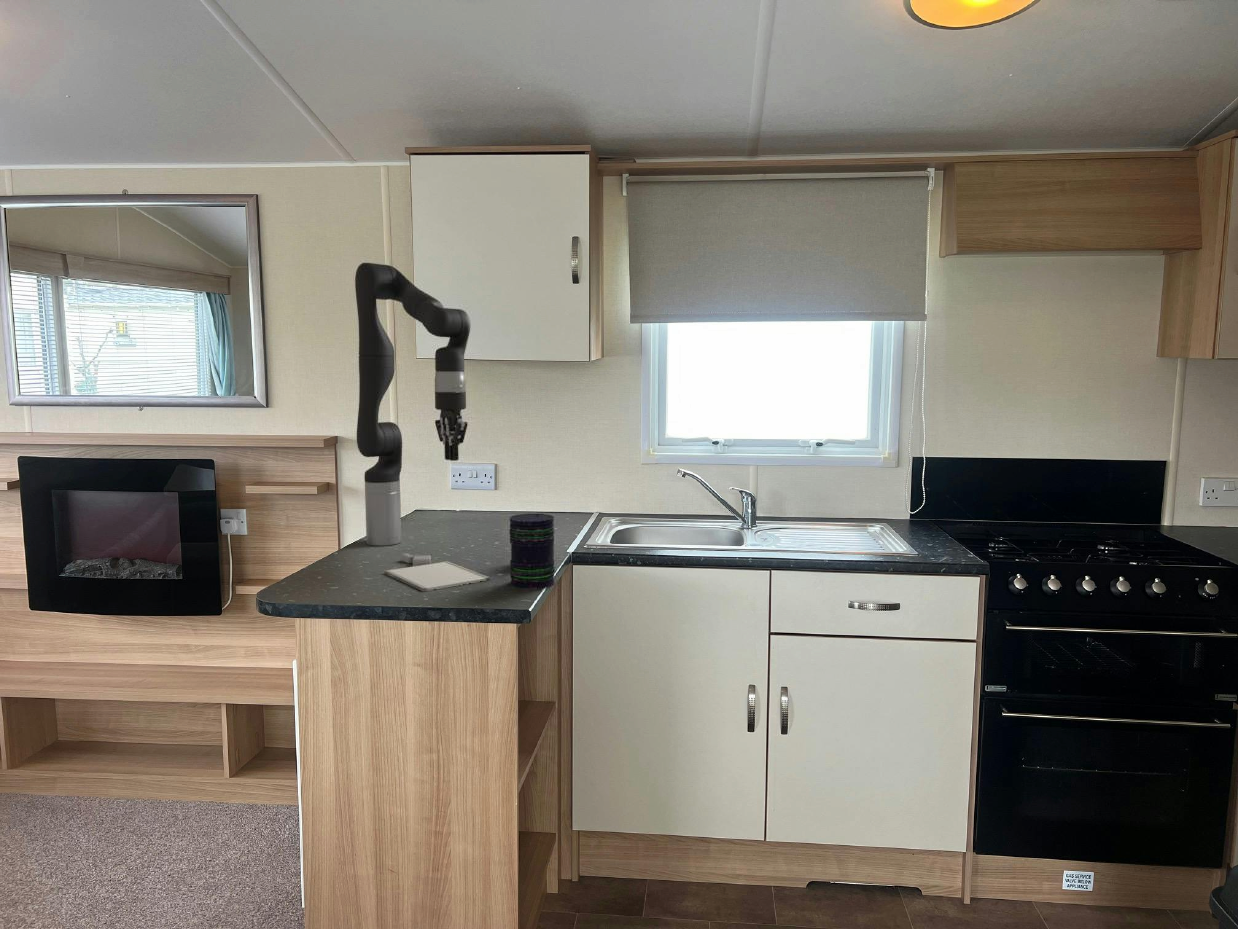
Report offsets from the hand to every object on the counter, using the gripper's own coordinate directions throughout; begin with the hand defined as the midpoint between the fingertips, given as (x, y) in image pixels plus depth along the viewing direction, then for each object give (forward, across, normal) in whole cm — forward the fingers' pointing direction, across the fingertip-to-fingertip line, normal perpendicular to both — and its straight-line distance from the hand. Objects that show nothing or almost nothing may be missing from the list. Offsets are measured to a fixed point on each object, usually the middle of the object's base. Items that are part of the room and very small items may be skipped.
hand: (451, 459), depth 208 cm
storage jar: (+25, +34, +2) cm, 42 cm away
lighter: (+24, +2, -12) cm, 27 cm away
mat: (+25, +15, -12) cm, 32 cm away
